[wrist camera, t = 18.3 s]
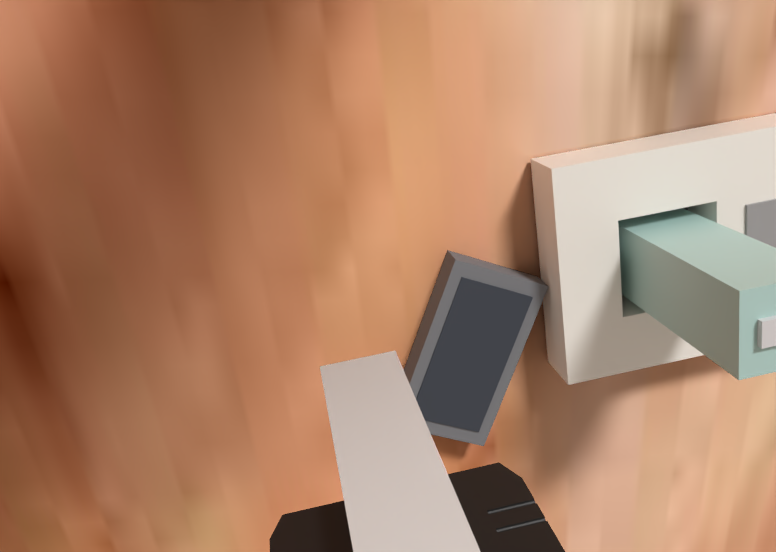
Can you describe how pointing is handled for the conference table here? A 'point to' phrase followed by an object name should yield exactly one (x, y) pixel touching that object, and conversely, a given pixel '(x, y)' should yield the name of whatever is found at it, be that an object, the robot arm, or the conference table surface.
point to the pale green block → (704, 286)
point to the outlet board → (628, 200)
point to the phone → (471, 344)
